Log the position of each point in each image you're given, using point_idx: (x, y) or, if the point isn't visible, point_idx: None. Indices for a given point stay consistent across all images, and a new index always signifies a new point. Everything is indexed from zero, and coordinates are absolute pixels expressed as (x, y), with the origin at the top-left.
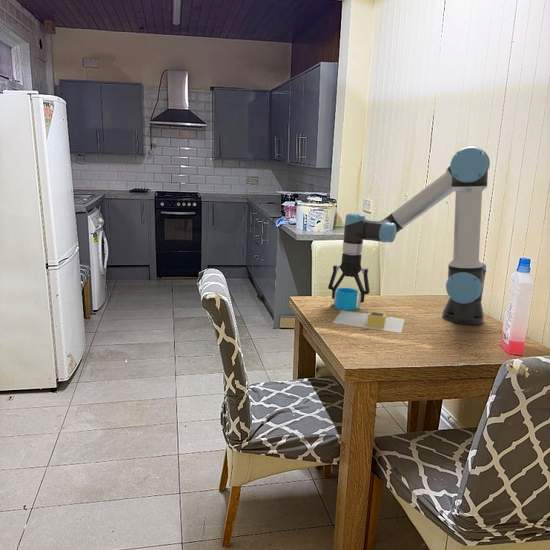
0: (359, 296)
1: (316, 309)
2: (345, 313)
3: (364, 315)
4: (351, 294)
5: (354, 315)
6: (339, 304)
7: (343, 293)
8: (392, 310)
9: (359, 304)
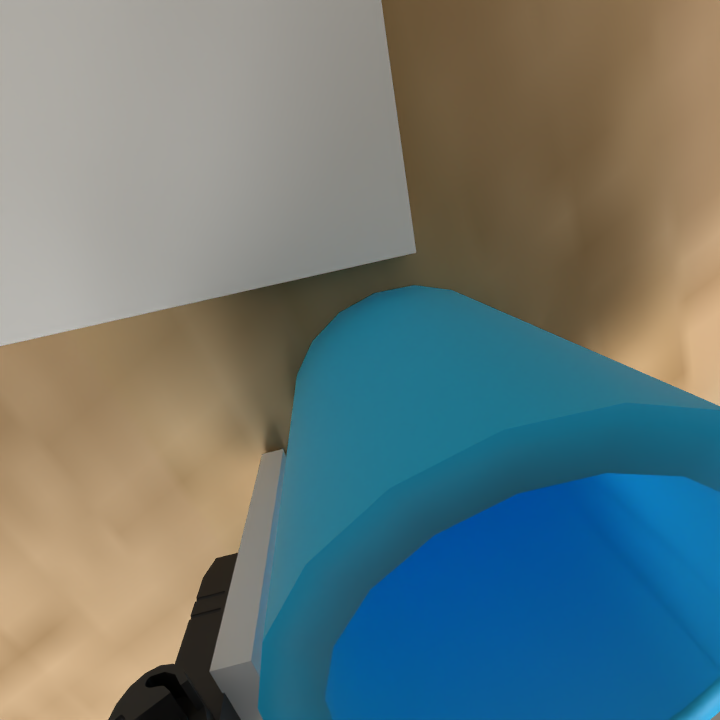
0: (244, 629)
1: (711, 193)
2: (303, 116)
3: (15, 220)
4: (338, 496)
5: (132, 101)
6: (496, 310)
7: (589, 385)
8: (41, 673)
9: (256, 509)
